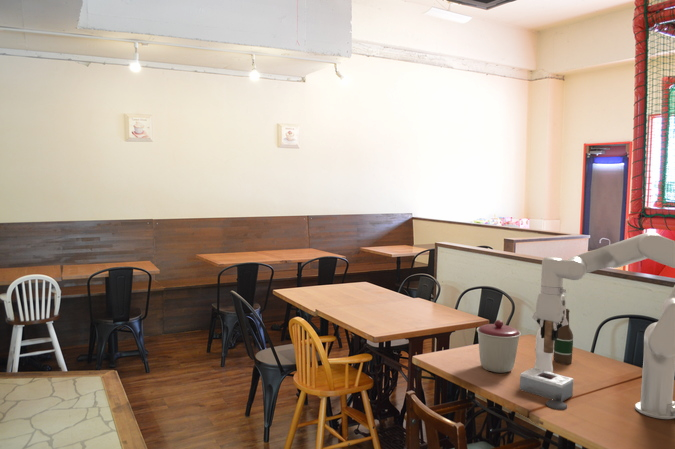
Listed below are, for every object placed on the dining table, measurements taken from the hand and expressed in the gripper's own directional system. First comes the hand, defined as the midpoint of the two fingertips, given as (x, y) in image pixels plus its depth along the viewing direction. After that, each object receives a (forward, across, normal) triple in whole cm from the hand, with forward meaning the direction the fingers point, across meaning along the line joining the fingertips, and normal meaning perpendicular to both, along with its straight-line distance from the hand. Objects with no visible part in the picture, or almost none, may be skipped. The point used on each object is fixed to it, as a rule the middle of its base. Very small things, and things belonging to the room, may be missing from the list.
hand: (549, 338), depth 203 cm
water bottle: (+21, +8, -15) cm, 27 cm away
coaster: (+21, -8, +9) cm, 24 cm away
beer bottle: (+21, +11, -41) cm, 48 cm away
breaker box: (+21, 0, 0) cm, 21 cm away
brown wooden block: (+5, 0, 0) cm, 5 cm away
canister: (+21, +26, -10) cm, 35 cm away
